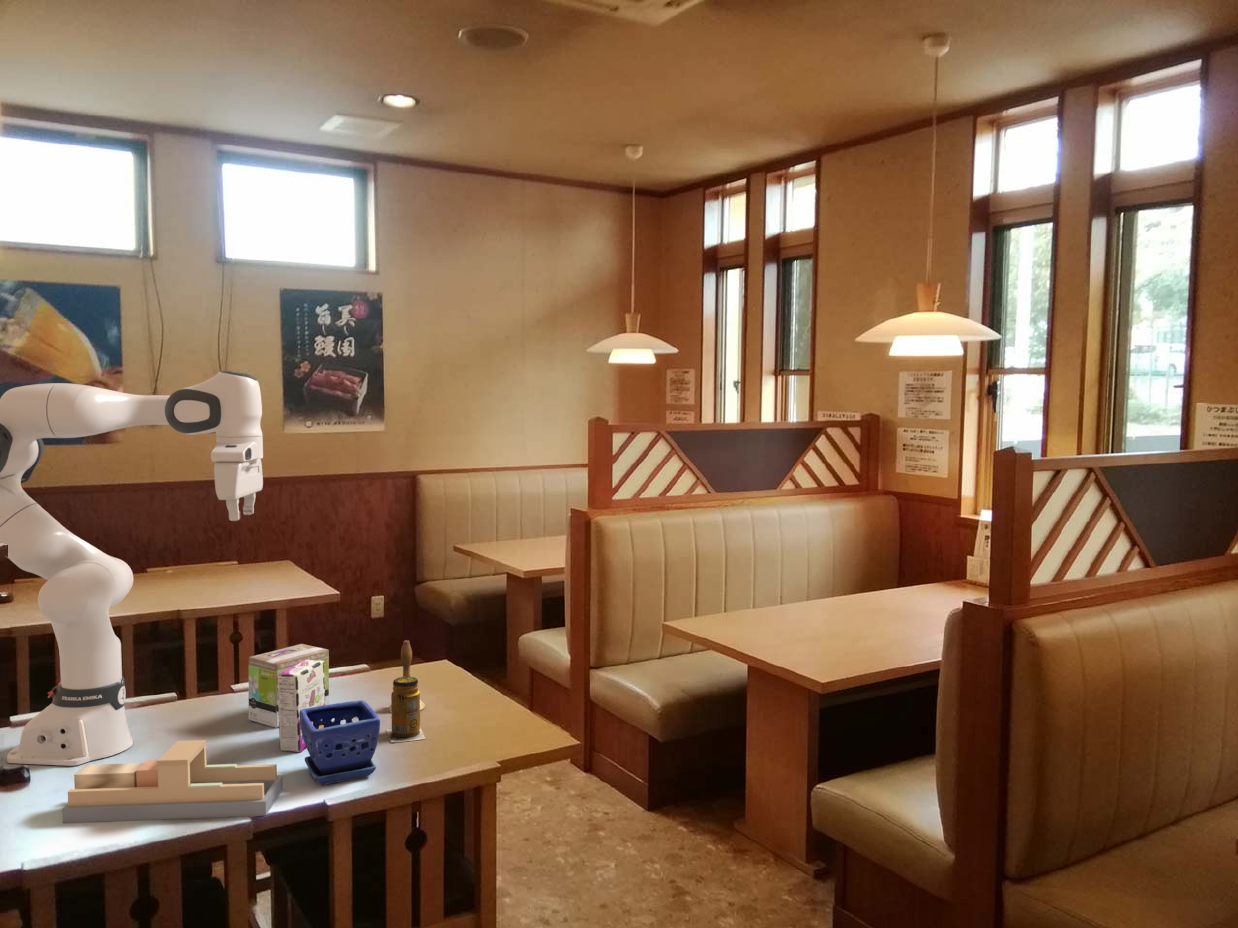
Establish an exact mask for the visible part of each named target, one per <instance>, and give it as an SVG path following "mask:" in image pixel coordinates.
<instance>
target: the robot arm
mask: <svg viewBox="0 0 1238 928" xmlns="http://www.w3.org/2000/svg"><path fill="white" fill-rule="evenodd" d="M262 417H263V405H262V394H261V387H260V383H259V381H258V379H257V378H255V377H254V376H253V375H251V374H248V373H243V372H239V371H232V370H221V371H218V372H217V373H216V374H215V375H213V376H212V377H210V378H209V379H207V380H203V382H199V383H197V384H194V385H191V386H187V387H183V388H180V389H178V390H176V391H174V392H172V394H169V395H164V394H163V395H153V394H152V395H151V394H149V395H146V394H143V395H142V394H133V393H128V392H127V393H126V392H121V391H117V390H111V389H107V388H103V387H98V386H92V385H85V384H79V383H66V382H61V383H60V382H57V383H55V382H54V383H53V382H52V383H51V382H50V383H49V382H48V383H37V384H36V383H35V384H30V385H23V386H16V387H13V388H10V389H8V390H6V391H5V392H4V393H3V394H2V395H1V397H0V543H4V544H7V545H8V557H7V559H8V560H9V561H11V562H12V563H13V564H14V565H16V567H18V568H19V569H21V570H22V571H25V572H27V573H31V574H34V575H36V576H39V577H41V578H42V579H45V580H47V581H46V582H44V584H43V585H42V586H41V588H40V589H39V592H38V596H37V605H38V608H39V610H40V613H41V614H42V615H43V616H44V617H45V618H46V619H47V620H49V622H50V624H51V627H52V630H53V632H54V633H53V634H54V635H55V636H54V637H55V639H56V642H57V646H58V647H57V648H58V651H59V653H58V654H59V655H58V656H59V671H60V681H59V682H58V685H55V686H54V687H53V688H51V689H52V690H50V691H48V692H47V694H48V696H47V699H50V698H52V701H51V703H50V704H49V705H48V706H46V707H45V708H44V709H42V710H41V711H40V712H39V713H37V714H36V715H35V716H34V717H33V718H31V719H30V720H29V721H28V722H27V723H26V724H25V726H23V729H22V731H21V735H20V739H19V744H17V745H16V746H15V747H13V748H12V749H11V750H10V751H9V752H8V753H7V757H6V762H7V763H8V764H19V765H21V764H25V765H42V766H43V765H44V766H45V765H46V766H48V765H49V766H64V767H65V766H68V767H71V766H72V767H74V766H79V765H82V764H85V763H88V762H91V761H95V760H99V759H103V758H108V757H111V756H114V755H117V754H119V753H122V752H124V751H126V750H127V749H129V748H131V747H132V746H133V744H134V739H133V737H132V734H131V732H130V729H129V725H128V720H127V715H126V709H125V705H126V692H127V691H126V683H125V677H124V676H123V670H122V669H123V666H122V661H123V660H122V643H121V640H120V638H119V637H118V636H117V635H116V634H115V631H114V629H113V626H112V623H111V619H110V615H109V614H110V609H111V608H113V607H115V606H116V605H119V604H120V603H121V602H122V601H123V600H124V599H125V598H126V596H127V595H128V594H129V592H130V591H131V589H132V587H133V586H134V574H133V570H132V569H131V567H130V565H128V563H127V562H125V561H124V560H122V559H120V558H117V557H114V556H112V555H109V554H107V553H105V552H103V551H102V550H101V549H98V548H97V547H95V546H94V545H92V544H90V543H89V542H87V541H85V540H84V539H83V538H80V537H79V536H77V535H76V534H74V533H73V532H71V531H70V530H68V529H67V528H66V527H65V526H63V525H62V524H61V523H60V522H59V521H58V520H57V519H55V518H54V517H53V516H52V515H51V514H50V513H49V512H48V511H46V510H45V509H44V508H43V507H42V506H41V504H39V503H38V502H36V501H35V500H34V499H33V498H32V497H30V496H29V495H28V493H27V492H26V491H25V490H24V489H23V488H22V484H25V483H26V482H28V481H29V480H30V479H31V477H32V475H33V472H34V470H35V469H36V468H37V467H38V465H39V464H40V462H41V461H42V458H43V456H44V453H45V444H44V441H43V439H70V438H71V439H72V438H73V439H74V438H82V437H89V436H95V435H99V434H103V433H105V434H106V433H108V432H112V431H116V430H120V429H125V428H131V427H136V426H149V425H150V426H157V425H158V426H161V425H162V426H164V425H165V426H167V425H168V426H170V427H171V428H172V429H174V430H175V431H177V432H179V433H182V434H185V435H203V434H215V435H216V443H215V445H214V448H213V449H212V450H211V452H210V459H211V462H213V463H214V465H213V466H214V467H213V473H214V474H213V475H214V476H213V477H214V487H215V494H216V496H217V498H218V500H219V501H225V505H226V508H227V511H228V520H229V521H231V522H235V521H236V522H237V521H240V519H241V510H239V503H240V498H244V501H243V505H242V513H243V515H245V516H247V515H248V516H251V515H252V514H253V515H254V513H255V512H254V511H255V508H254V506H255V502H256V498H257V497H256V494H257V492H261V491H262V490H263V487H264V486H263V485H264V477H263V463H262V459H263V458H264V442H263V441H264V439H263V431H262V428H261V427H262V426H261V422H262V421H261V420H262Z"/></svg>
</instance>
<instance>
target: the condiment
mask: <svg viewBox="0 0 1238 928" xmlns="http://www.w3.org/2000/svg"><path fill="white" fill-rule="evenodd" d="M418 683H419V681H418V679H417V677H414V676H410V677H403V676H400V677H396V678H395V679H393V682H392V684H393V685H392V686H393V687H392V690H393V691H391V698H390V700H391V702H390V705H391V708H392V711H390V712H391V716H390V717H391V728H389V729H388V728H387V729H386V733H387V736H388V738H389V741H390V743H401V742H403V743H405V742H413V741H421V740H426V739H427V738H426V737H425V733H424V732H423V730H422V727H421V710H420V700H421V695H420V694H421V692H420V690H419V685H418Z"/></svg>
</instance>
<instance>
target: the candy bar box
mask: <svg viewBox="0 0 1238 928" xmlns="http://www.w3.org/2000/svg"><path fill="white" fill-rule="evenodd" d="M277 688H278V689H277V690H278V713H279V727H278V734H279V735H278V737H279V738H278V739H279V751H280V752H287V753H288V752H289V753H302V752H303V751H304V750H307V748H306V745H305V742H304V739H303V735H302V731H301V726H300V717H299V712H300V710H301V709H306V708H312V707H318V706H324V705H325V685H324V661H320V660H303V661H301V662H299V663H297V664H296V665H294V666H292V667H290V668H288V669H286V670H285V671H283V672H281V673H279V674H277ZM321 721H322V720H321ZM311 723H312V724H313V721H311ZM321 728H324V725H321V726H319V729H321Z"/></svg>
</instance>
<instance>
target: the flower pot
mask: <svg viewBox="0 0 1238 928" xmlns="http://www.w3.org/2000/svg"><path fill="white" fill-rule="evenodd" d="M299 717H300V726H301V731H302V735H303V739H304V742H305V745H306V750H307V752H308V754H309V755H308V756H305V757H304V763H305V764H306V766H307V769H308V770H309V772H310V773H311V775H312V777H313V778H314V780H315V781H316V783H318V785H329V784H334V783H340V782H344V781H346V782H347V781H350V780H351V781H352V780H356V779H362V778H366V777H369V776H371V774H373V773H374V772H375V771H376V768H377V767H376V764H375V763H374V761H373V760H372V759H373V756H374V754H375V752H376V749H377V746H378V742H379V737H380V732H381V731H380V729H381V728H380V727H381V719H380V717H379V715H378V714H377V713H376V711H375V710H374V709H373V707H372V706H370V705H369V703H367V701H365V700H363V699H361V700H352V701H351V700H350V701H343V702H337V703H331V704H329V705H324V706H318V707H312V708H306V709H301V710H300V712H299ZM354 718H357V719H358V721H353V719H354ZM333 719H334V720H333ZM321 720H322V721H321ZM332 720H333V721H332ZM311 721H313V724H312V723H311ZM342 721H345V723H342V724H341V722H342ZM321 725H324V728H321V729H319V726H321Z"/></svg>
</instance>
